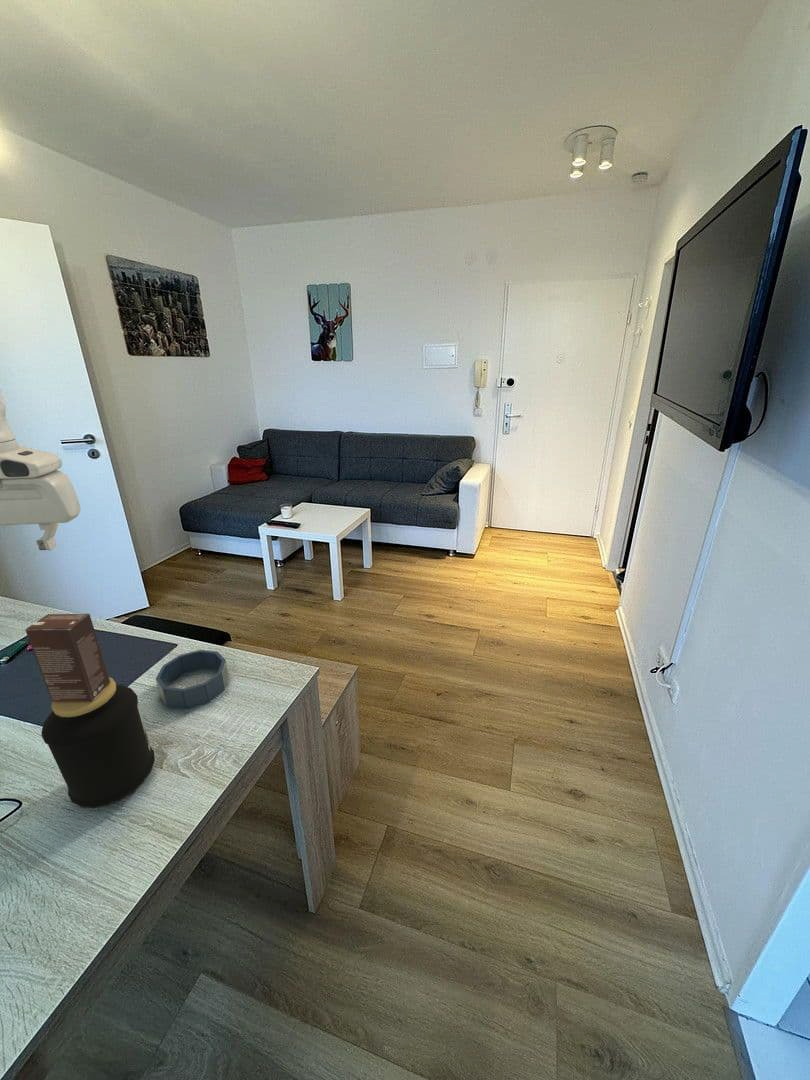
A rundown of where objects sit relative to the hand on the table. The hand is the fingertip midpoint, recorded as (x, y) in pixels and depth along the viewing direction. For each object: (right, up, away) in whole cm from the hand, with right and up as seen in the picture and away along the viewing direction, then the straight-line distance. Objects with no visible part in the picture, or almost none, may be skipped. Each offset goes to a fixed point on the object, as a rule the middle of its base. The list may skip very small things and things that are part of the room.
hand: (14, 550), depth 67 cm
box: (+14, -21, -4) cm, 25 cm away
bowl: (+17, -29, +23) cm, 41 cm away
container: (+14, -37, +2) cm, 40 cm away
